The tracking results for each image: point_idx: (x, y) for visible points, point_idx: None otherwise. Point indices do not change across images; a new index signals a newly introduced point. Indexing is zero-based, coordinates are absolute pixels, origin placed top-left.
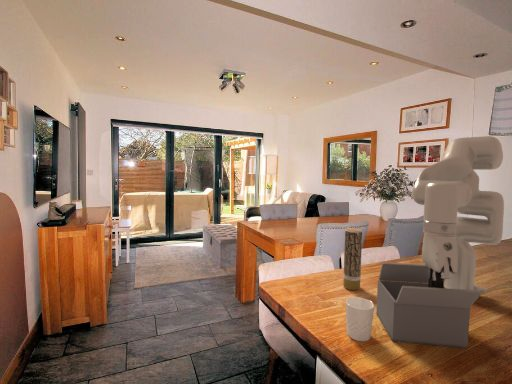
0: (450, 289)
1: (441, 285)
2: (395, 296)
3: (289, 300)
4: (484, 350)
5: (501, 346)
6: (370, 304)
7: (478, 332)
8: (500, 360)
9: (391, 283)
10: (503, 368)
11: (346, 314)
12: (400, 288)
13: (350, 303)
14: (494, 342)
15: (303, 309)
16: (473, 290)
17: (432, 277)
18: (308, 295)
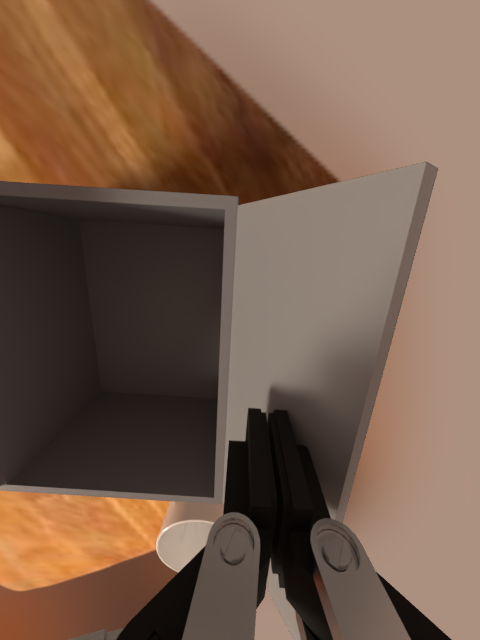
0: (358, 436)
1: (321, 495)
2: (50, 382)
3: (86, 552)
4: (247, 175)
5: (220, 90)
6: (187, 513)
7: (141, 114)
8: (292, 160)
9: (3, 436)
10: (325, 180)
11: (206, 531)
12: (13, 386)
13: (173, 541)
14: (198, 99)
15: (123, 533)
16: (408, 244)
17: (301, 622)
18: (43, 517)
